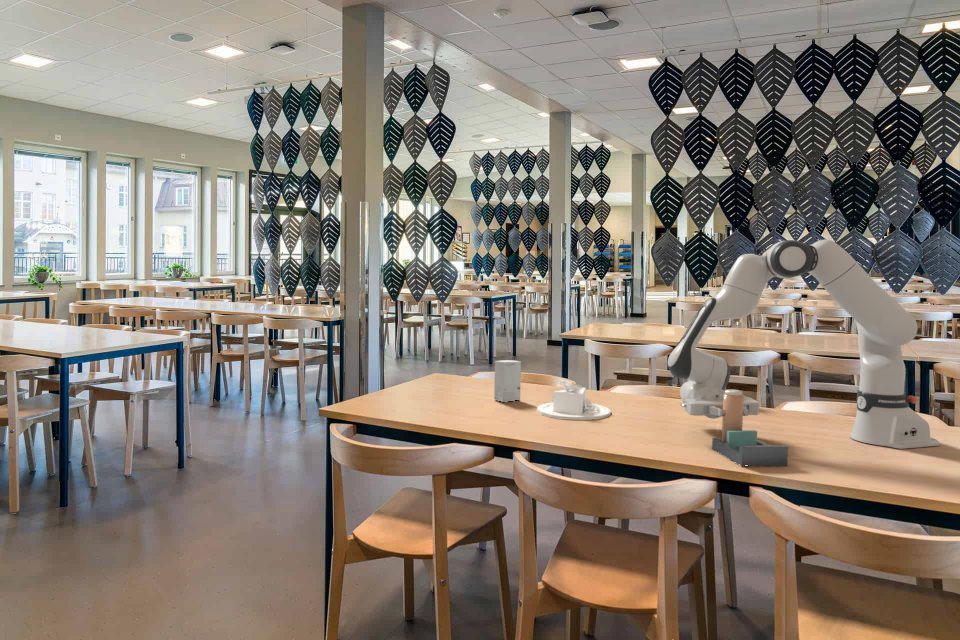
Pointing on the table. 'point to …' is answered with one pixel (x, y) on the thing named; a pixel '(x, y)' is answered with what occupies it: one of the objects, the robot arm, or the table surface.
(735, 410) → the slim pink can
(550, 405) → the dish
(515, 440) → the table surface
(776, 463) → the grey open tray
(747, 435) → the block
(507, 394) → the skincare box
